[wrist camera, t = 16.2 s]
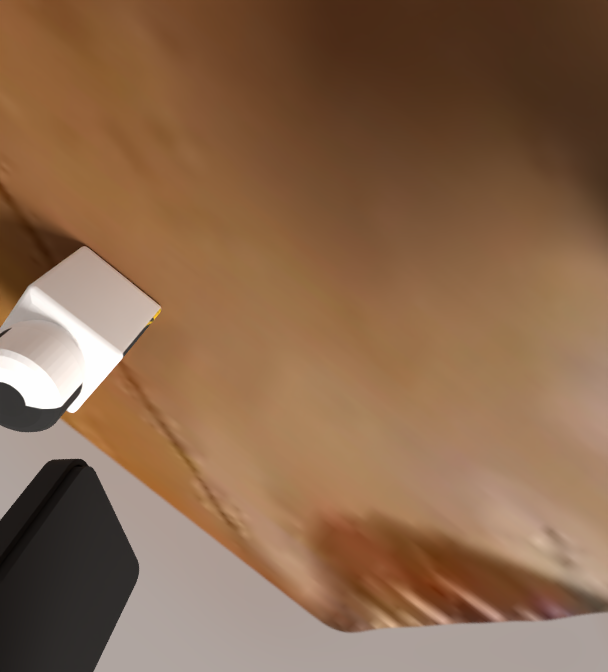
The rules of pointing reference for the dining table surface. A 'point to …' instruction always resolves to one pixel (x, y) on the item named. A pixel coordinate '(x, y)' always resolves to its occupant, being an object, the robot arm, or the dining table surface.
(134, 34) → the dining table surface
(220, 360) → the dining table surface
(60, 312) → the medicine bottle
